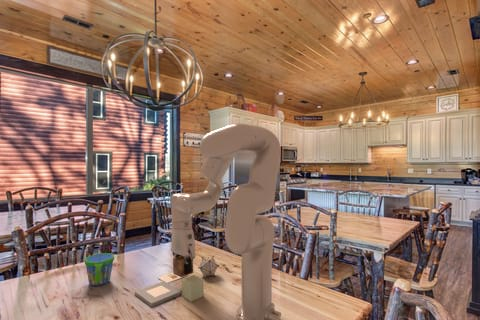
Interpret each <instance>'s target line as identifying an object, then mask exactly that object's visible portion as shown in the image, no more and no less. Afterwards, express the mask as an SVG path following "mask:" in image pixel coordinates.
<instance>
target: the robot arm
mask: <svg viewBox="0 0 480 320" xmlns="http://www.w3.org/2000/svg"><path fill="white" fill-rule="evenodd" d="M281 149H282V148H281V144H280V141H279V139H278V136H276V134H274V133H273V132H272V131H271V130H269V129H267V128H265V127H262V126H259V125H253V124H252V125H250V124H245V123H233V124H230V125H227V126H224V127H222V128H219V129H216V130H213V131H210V132H208V133H207V134H205V135H204V136H203V137H202V138H201V140H200V142H199V152H200V155H201V156H202V157H203V158H205V160H204V161H203V164H202V165H201V167H200V173H201V175H202V176H203V177H204V178H205V179H206V180H208V184H207V185H206V188H205V190H204V191H200V192H194V193H187V192H178V193H173V194H172V195H171V199H170V200H171V203H170V204H171V230H172V231H171V241H170V243H171V248H170V251H171V252H172V255H173V258H175V257H179V256H184V261H185V264H184V274H185V275H186V274H189V273H191V272H192V262H193V263H194V259H195V258H196V256H197V255H196V239H195V234H194V230H193V228H192V223H193V221H192V215H196V214H199V213H202V212H204V213H205V212H208V211H210V210H212V209H213V208H214V207H215V206H216V204H217V203H218V201H219V199H221V196H222V194H223V186H224V185H223V178H224V176H225V174H227V173H226V172H227V171H228V169H229V168H230V166H231V164H232V163H233V161H234V160H235V158H236V156H237V155H238V153H254V154H255V157H254V159H253V161H252V163H251V165H250V171H249V179H248V182H247V183H242V184H239V185H237V186H236V187H234V189H232V191H231V193H230V195H229V198H228V201H227V202H228V203H227V211H226V220H225V227H224V237H225V238H224V239H225V244H226V246H227V248H228V249H229V250H230V252H232V253H233V254H236V255H241V297H240V299H241V301H240V302H241V304H240V306H238V308H237V309H236V319H237V320H281V316H282V312H279V310H278V311H277V310H276V309H275V303H274V302H272V301H273V299H272V296H273V295H272V293H273V291H272V290H273V289H272V287H273V286H272V284H273V283H272V282H273V281H272V276H273V272H272V271H273V270H272V267H273V266H272V265H273V264H272V263H273V249H274V248H273V247H274V241H275V234H276V233H275V226H274V224H273V222H272V221H271V219H270V218H269V217H268V216H265V215H264V214H263V213H266V212H269V211H270V210H271V209H272V208H273V206H274V204H275V197H276V190H277V183H278V172H279V167H280V166H279V164H280V160H281ZM259 214H260V215H259ZM262 214H263V215H262ZM187 256H189V258H188V259H187ZM189 275H190V274H189Z"/></svg>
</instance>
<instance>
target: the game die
mask: <svg viewBox="0 0 480 320" xmlns="http://www.w3.org/2000/svg"><path fill="white" fill-rule="evenodd" d="M214 256H215V255H212V256H210V257H203V256H201V259H202V260H201V262H200V264H199V266H198V267H197V269H199V271H200V272H201V274H202V275H203V276H202V279H204V278H205V277H207V276H213V277H216V272H217V269H218V267H220V264H218V263H217V262H216V260H215V258H214Z"/></svg>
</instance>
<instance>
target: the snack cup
mask: <svg viewBox="0 0 480 320" xmlns="http://www.w3.org/2000/svg"><path fill="white" fill-rule="evenodd" d="M114 261H115V255H114V254H113V253H109V252H102V253H96V254H91V255H89V256H88V257H85V258H84V265H85V266H86V274H87V279H88V284H89V286H94V287H100V286H105V285H106V284H108V283H109V282H110V280H111V277H112V271H113V263H114Z"/></svg>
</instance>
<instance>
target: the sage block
mask: <svg viewBox="0 0 480 320" xmlns="http://www.w3.org/2000/svg"><path fill="white" fill-rule="evenodd" d="M204 282H205V281H204V278H201V277H199V276H196V275H191V276H187V277H185V278H184V279H183V278H182V280H181V291H182V294H181V297H183V298H184V299H186V300H188V301H189V302H194V301H196V300H198V299H201V298H202V297H204V292H205V291H204V289H205V288H204Z"/></svg>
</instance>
